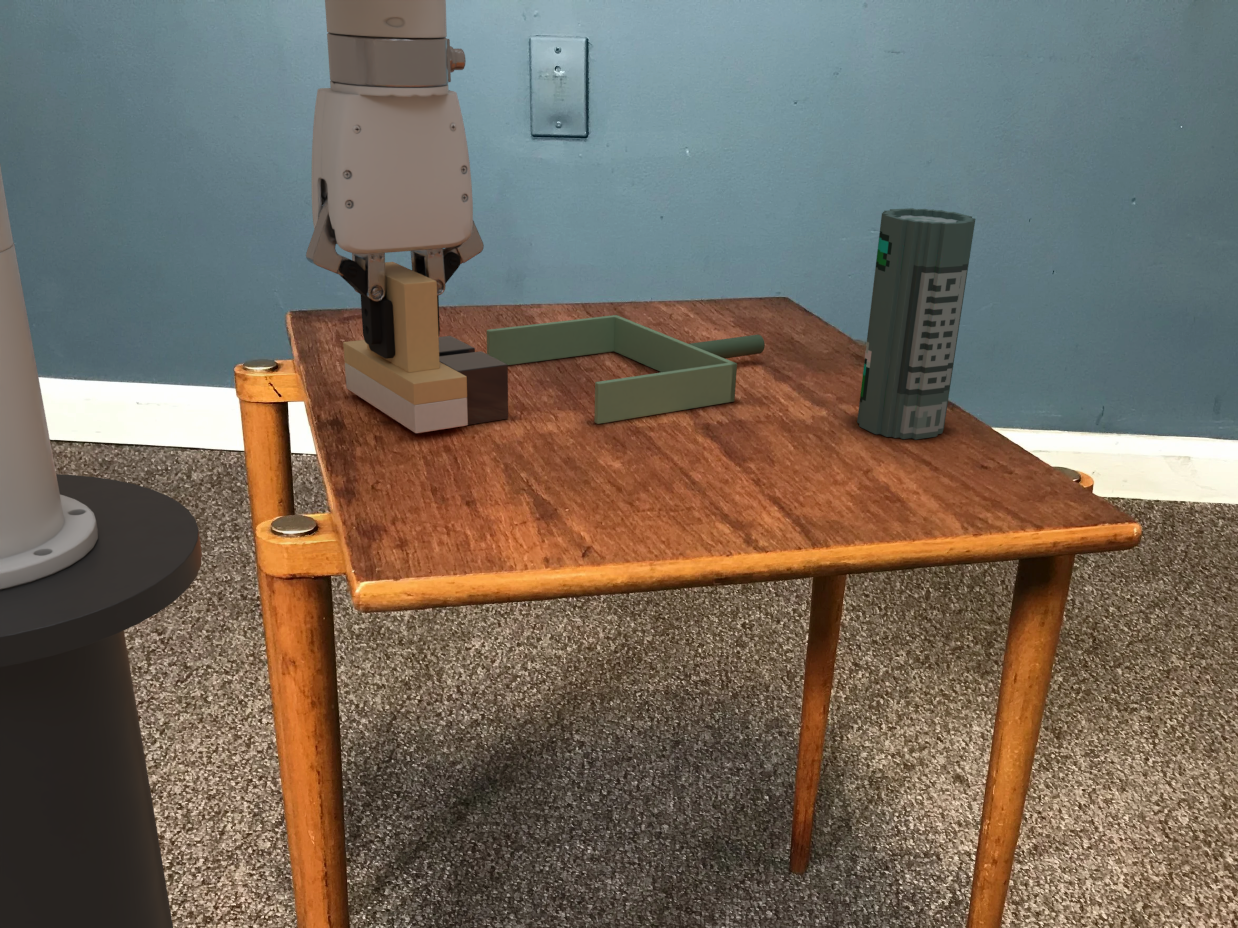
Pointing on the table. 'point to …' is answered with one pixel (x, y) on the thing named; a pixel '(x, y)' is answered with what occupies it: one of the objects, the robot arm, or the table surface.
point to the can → (914, 321)
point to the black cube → (482, 385)
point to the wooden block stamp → (409, 361)
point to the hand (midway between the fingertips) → (402, 349)
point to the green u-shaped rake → (684, 367)
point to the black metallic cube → (453, 346)
